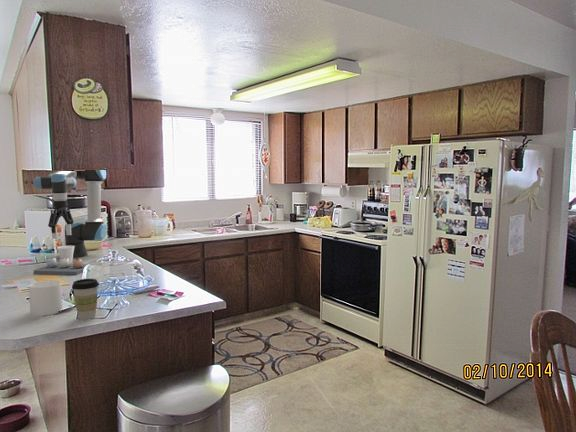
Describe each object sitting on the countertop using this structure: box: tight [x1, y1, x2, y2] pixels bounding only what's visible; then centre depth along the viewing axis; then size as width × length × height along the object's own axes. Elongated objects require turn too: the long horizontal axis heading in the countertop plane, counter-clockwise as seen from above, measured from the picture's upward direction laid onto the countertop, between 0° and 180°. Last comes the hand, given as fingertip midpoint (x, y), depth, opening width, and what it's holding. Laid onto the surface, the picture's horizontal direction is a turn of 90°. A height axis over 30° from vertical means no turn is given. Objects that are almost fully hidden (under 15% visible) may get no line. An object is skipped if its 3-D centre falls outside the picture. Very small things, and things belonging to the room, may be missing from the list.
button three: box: [72, 257, 83, 268], centre depth 245 cm, size 5×5×5 cm
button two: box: [59, 258, 69, 267], centre depth 246 cm, size 5×5×5 cm
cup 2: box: [56, 245, 75, 264], centre depth 263 cm, size 10×10×11 cm
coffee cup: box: [71, 278, 100, 321], centre depth 168 cm, size 10×10×15 cm
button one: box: [46, 257, 57, 267], centre depth 246 cm, size 5×5×5 cm
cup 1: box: [28, 279, 63, 317], centre depth 175 cm, size 12×12×12 cm
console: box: [33, 263, 87, 276], centre depth 246 cm, size 18×26×2 cm
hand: (62, 236), depth 244 cm, fingers open, 12 cm apart
